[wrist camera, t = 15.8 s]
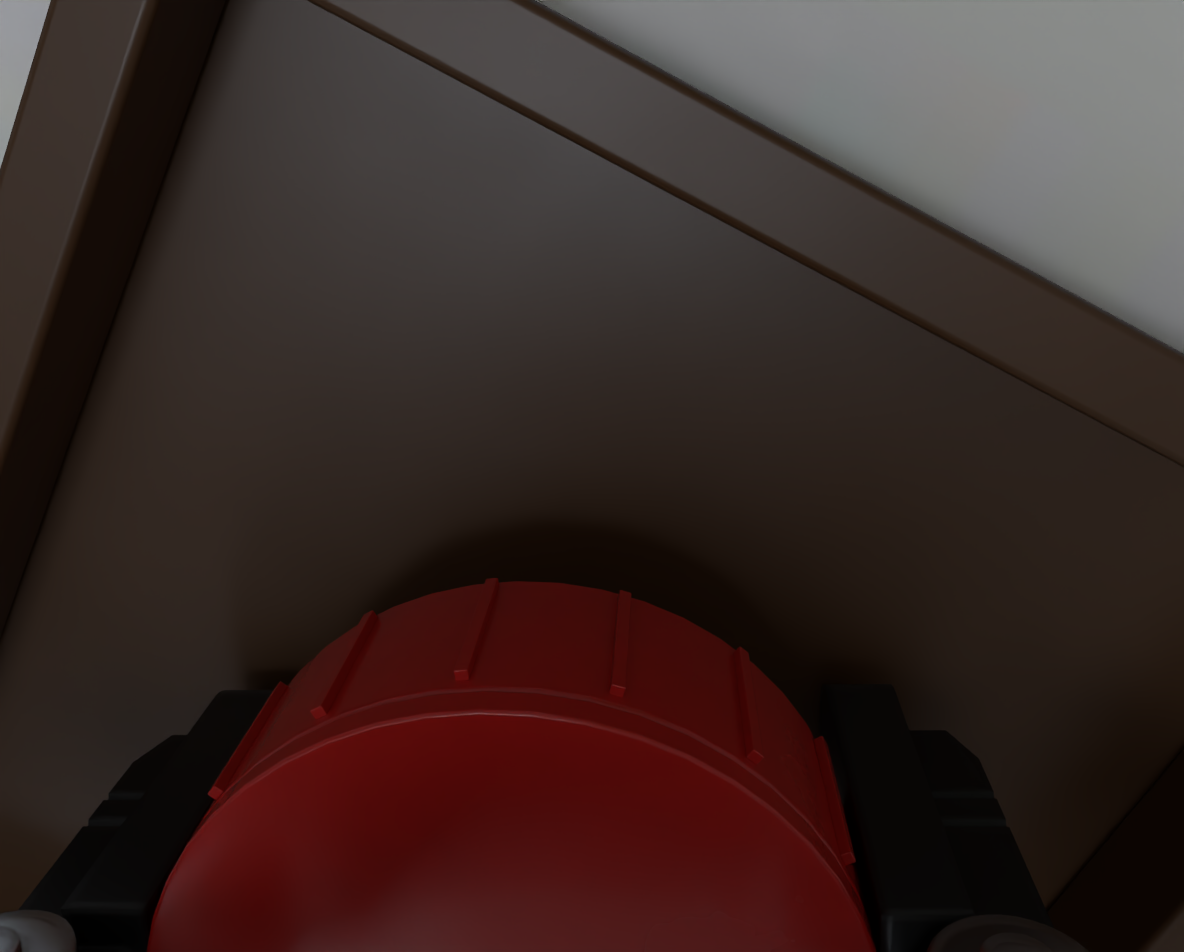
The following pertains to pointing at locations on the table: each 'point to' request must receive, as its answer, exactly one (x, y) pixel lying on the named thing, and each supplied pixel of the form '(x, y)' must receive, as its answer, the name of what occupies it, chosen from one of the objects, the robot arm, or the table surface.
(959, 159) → the table surface
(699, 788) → the lid
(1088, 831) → the tray
